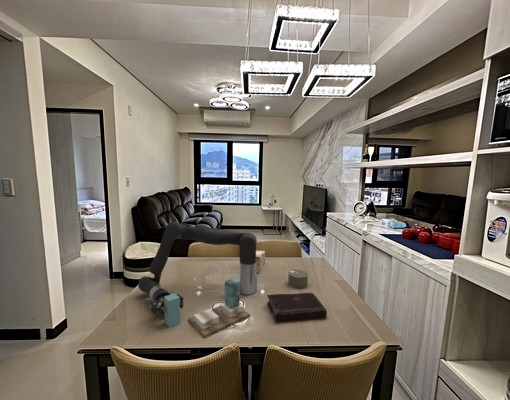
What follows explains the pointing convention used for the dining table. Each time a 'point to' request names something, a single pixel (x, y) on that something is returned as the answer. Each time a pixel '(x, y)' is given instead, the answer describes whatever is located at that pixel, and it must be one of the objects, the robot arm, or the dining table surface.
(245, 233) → the robot arm
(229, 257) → the dining table surface
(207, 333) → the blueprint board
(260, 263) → the stack of blocks
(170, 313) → the teal pillar
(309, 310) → the diary
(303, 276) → the can
